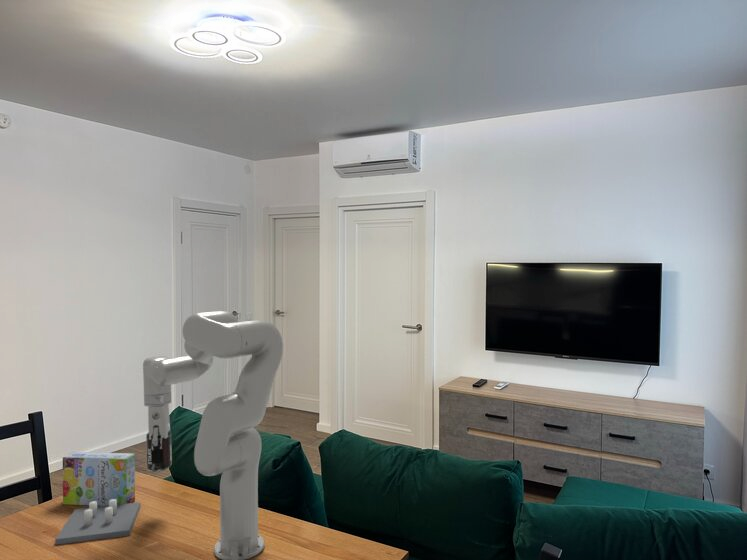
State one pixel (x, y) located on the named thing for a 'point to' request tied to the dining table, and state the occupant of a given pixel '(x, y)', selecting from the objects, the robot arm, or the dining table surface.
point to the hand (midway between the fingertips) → (159, 458)
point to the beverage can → (166, 450)
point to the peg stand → (99, 522)
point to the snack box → (98, 478)
